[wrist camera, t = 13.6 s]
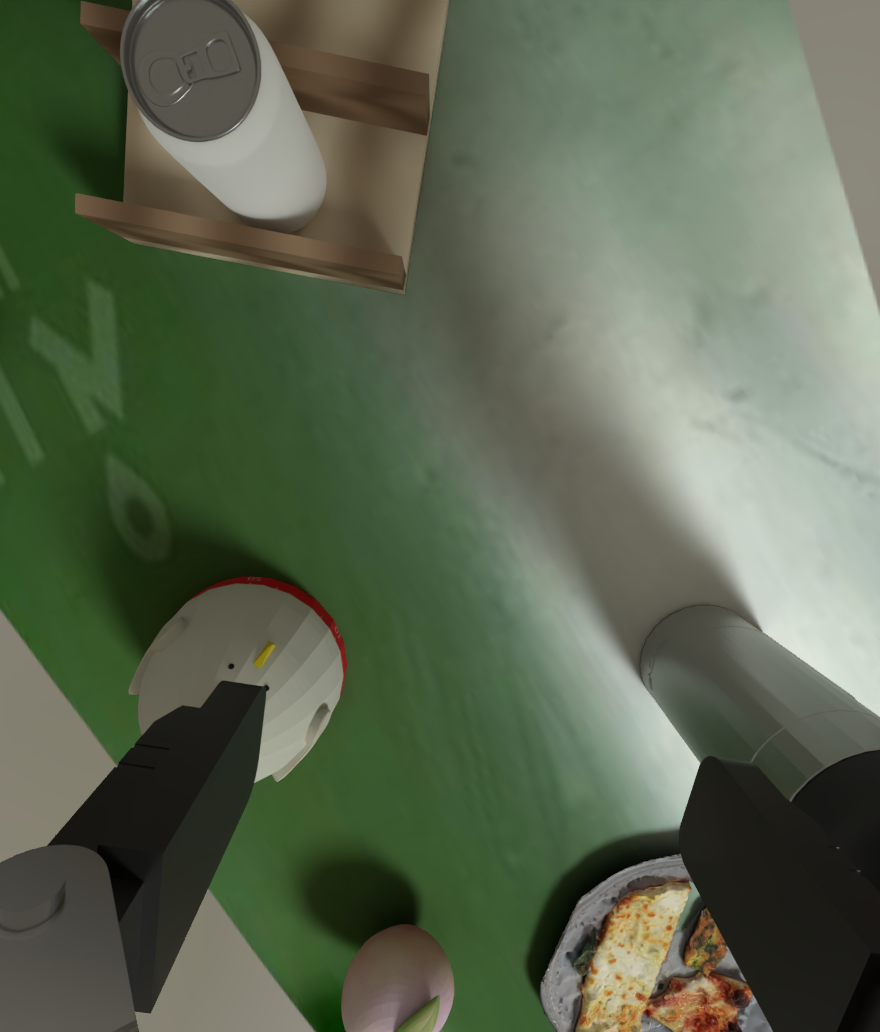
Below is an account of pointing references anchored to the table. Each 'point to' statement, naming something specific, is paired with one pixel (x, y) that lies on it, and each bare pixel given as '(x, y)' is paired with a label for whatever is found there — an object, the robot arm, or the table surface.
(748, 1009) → the food plate
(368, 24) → the rack
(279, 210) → the can
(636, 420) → the table surface
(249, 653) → the kitchen timer
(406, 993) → the decorative fruit
